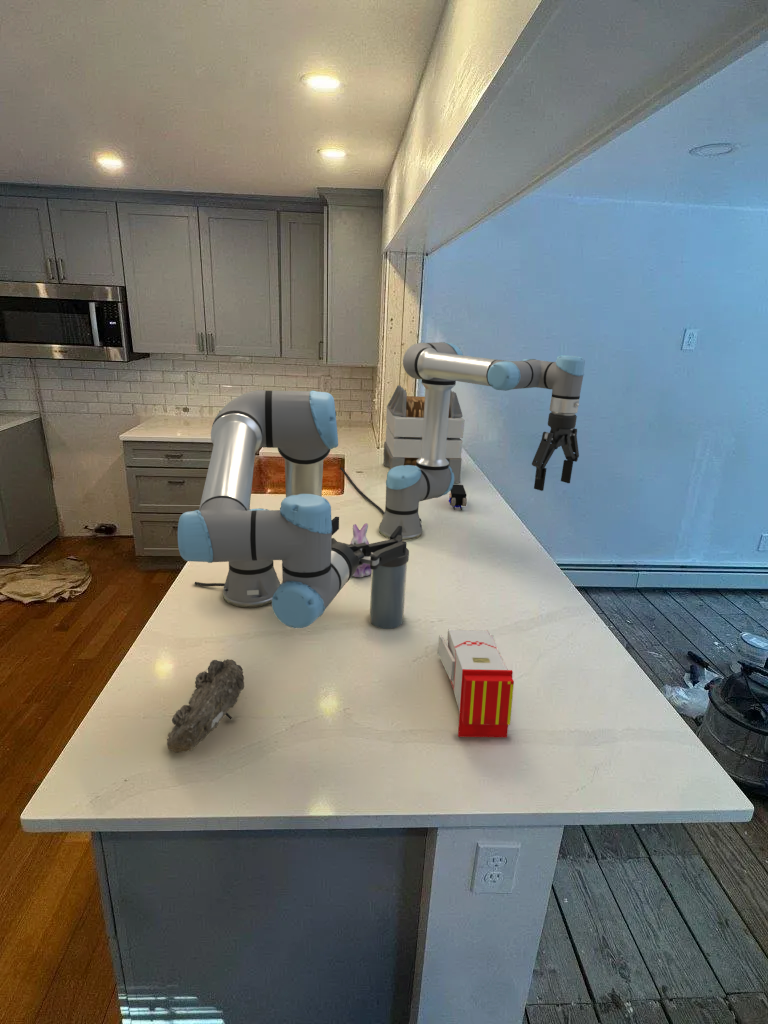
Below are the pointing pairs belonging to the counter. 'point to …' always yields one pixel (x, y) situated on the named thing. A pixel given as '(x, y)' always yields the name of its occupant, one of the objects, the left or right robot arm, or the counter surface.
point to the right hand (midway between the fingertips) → (552, 485)
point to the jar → (387, 596)
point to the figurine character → (457, 496)
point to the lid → (398, 561)
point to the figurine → (358, 538)
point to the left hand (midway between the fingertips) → (368, 527)
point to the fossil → (206, 705)
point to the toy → (478, 682)
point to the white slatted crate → (419, 431)
